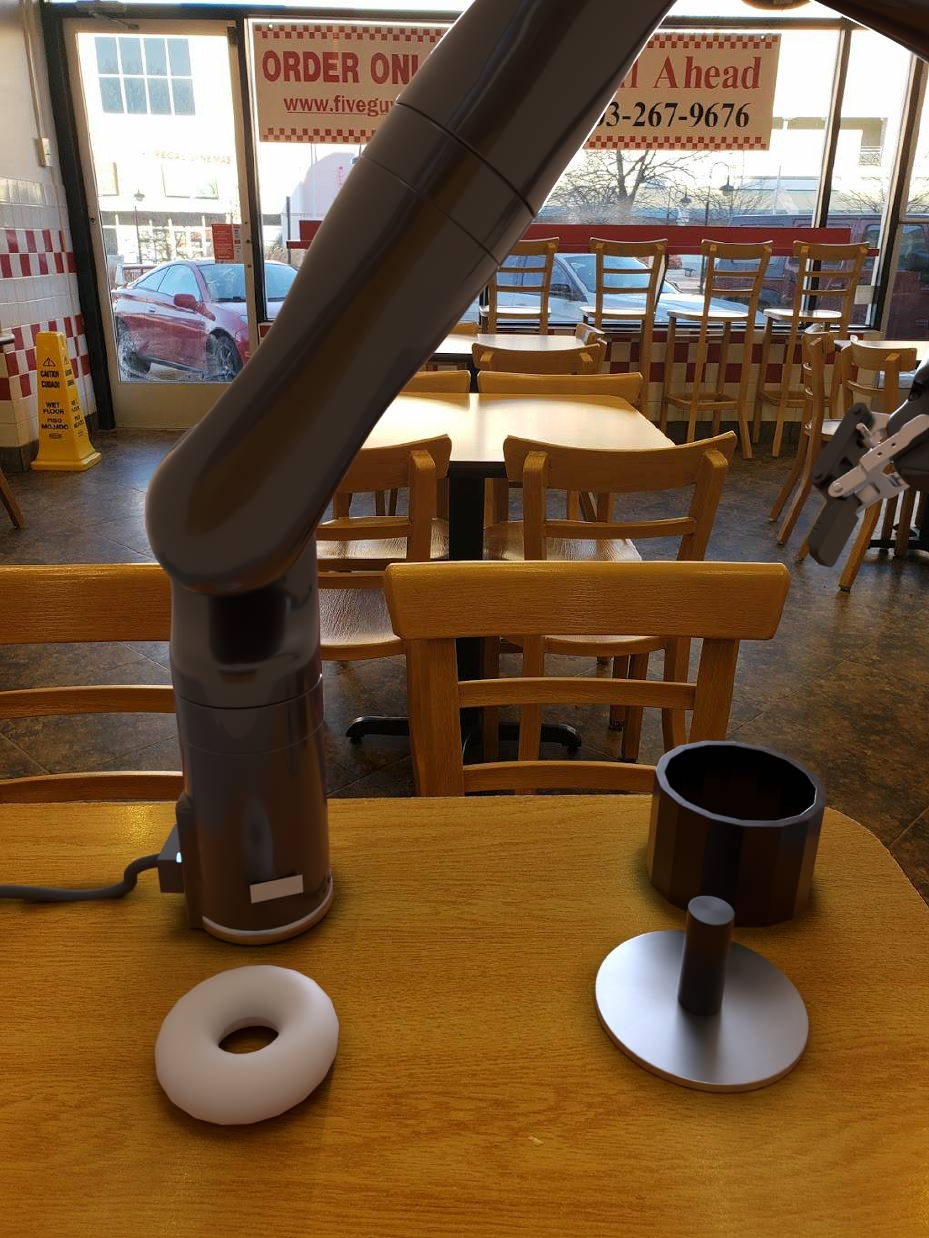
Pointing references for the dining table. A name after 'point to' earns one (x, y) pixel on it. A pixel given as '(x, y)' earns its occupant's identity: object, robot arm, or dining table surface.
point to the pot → (735, 829)
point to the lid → (702, 1005)
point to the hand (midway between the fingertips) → (882, 577)
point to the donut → (255, 1079)
